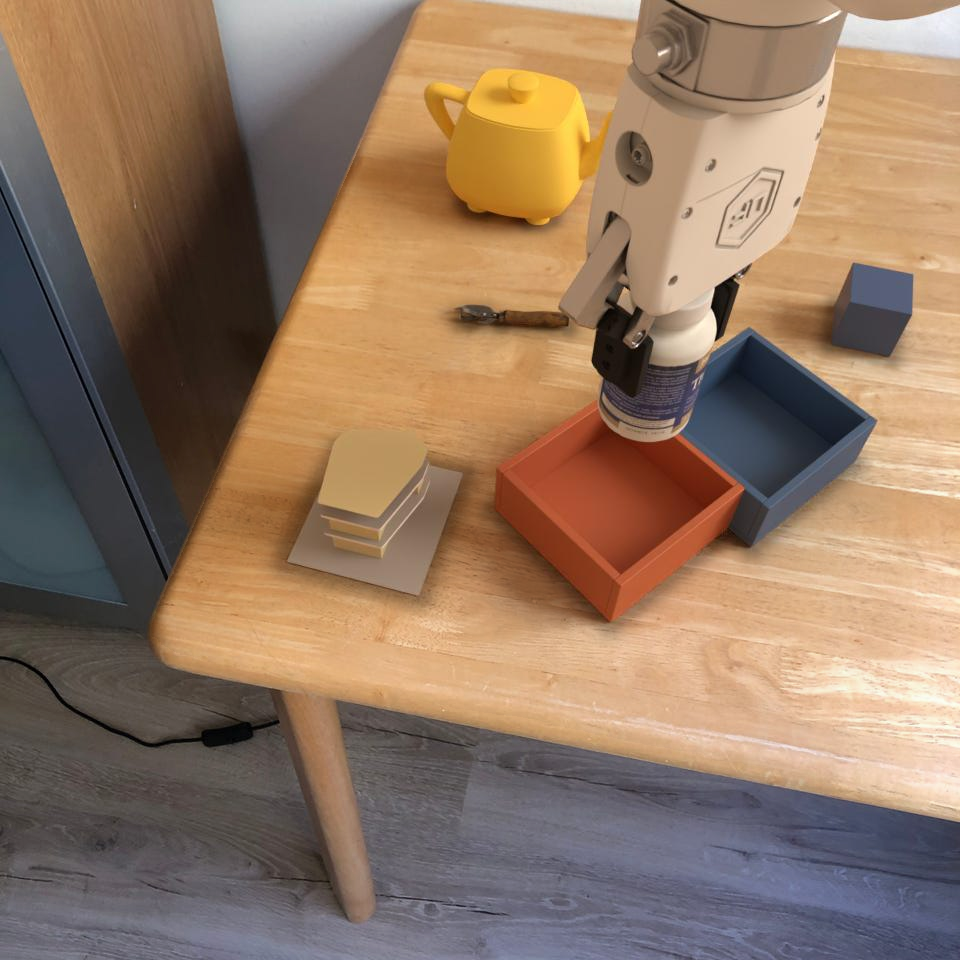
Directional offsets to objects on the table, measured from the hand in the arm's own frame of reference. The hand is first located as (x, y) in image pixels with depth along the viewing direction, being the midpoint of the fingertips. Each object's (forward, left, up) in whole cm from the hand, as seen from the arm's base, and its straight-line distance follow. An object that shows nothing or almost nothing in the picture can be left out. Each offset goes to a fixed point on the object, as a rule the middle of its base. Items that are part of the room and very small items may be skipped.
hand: (657, 349), depth 51 cm
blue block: (0, -27, -17) cm, 32 cm away
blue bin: (-2, -11, -17) cm, 20 cm away
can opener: (+18, -7, -17) cm, 26 cm away
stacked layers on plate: (+10, +12, -17) cm, 23 cm away
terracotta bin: (0, 0, -17) cm, 17 cm away
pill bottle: (0, 0, -5) cm, 5 cm away
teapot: (+29, -18, -17) cm, 38 cm away
